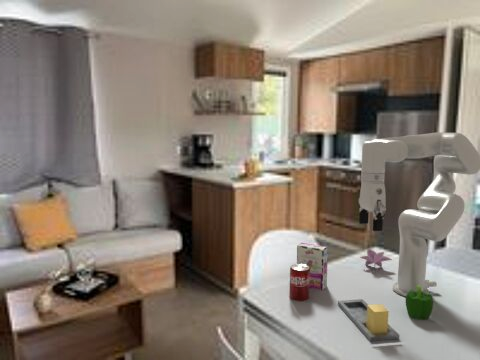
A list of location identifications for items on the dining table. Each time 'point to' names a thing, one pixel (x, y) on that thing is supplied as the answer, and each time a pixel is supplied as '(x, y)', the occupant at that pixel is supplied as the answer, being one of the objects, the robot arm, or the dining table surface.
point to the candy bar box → (314, 263)
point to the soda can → (299, 282)
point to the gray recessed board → (359, 317)
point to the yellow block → (377, 319)
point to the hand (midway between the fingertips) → (370, 226)
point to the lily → (375, 258)
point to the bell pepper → (419, 304)
